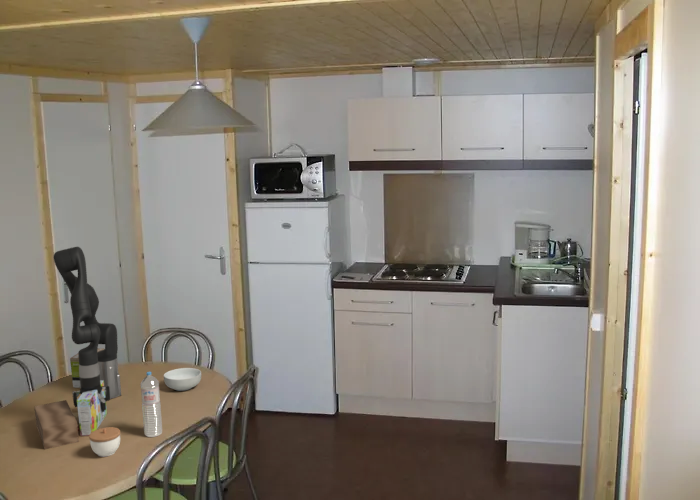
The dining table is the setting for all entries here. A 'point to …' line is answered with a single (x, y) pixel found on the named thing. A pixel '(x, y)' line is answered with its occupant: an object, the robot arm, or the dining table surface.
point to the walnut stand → (56, 424)
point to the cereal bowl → (182, 378)
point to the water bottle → (151, 406)
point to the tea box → (77, 369)
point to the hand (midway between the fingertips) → (93, 413)
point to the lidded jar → (105, 441)
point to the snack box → (90, 411)
